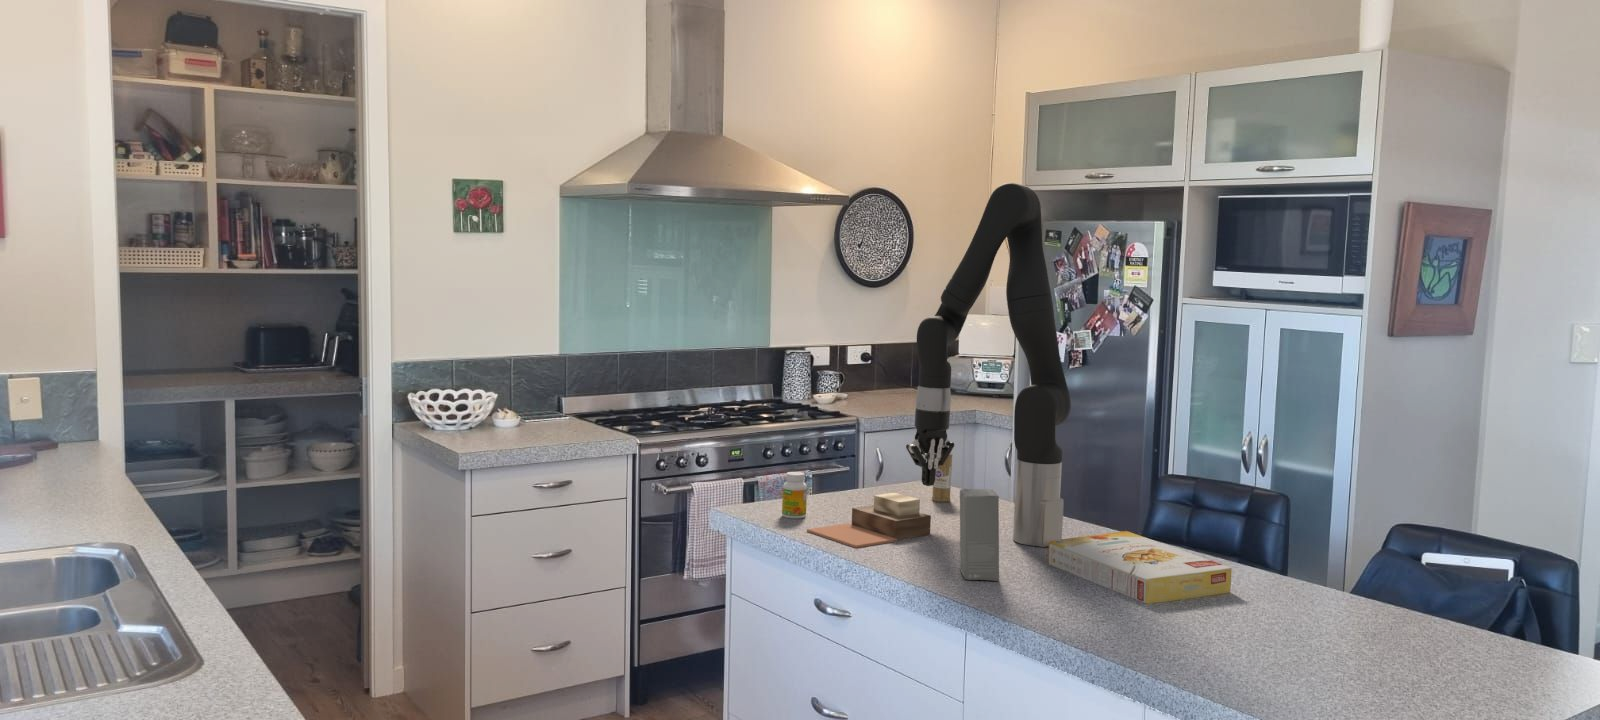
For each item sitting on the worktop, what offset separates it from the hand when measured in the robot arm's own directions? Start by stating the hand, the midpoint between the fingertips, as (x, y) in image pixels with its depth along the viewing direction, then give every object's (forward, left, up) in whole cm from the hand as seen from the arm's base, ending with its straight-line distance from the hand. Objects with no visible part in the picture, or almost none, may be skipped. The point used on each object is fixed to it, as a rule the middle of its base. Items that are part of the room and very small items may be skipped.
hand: (928, 485), depth 259 cm
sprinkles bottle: (+17, -21, -9) cm, 28 cm away
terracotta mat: (0, +22, -9) cm, 24 cm away
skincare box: (-35, +21, -9) cm, 42 cm away
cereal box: (-52, -4, -9) cm, 53 cm away
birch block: (0, +10, -3) cm, 10 cm away
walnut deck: (0, +11, -9) cm, 14 cm away
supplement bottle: (+21, +21, -9) cm, 31 cm away
